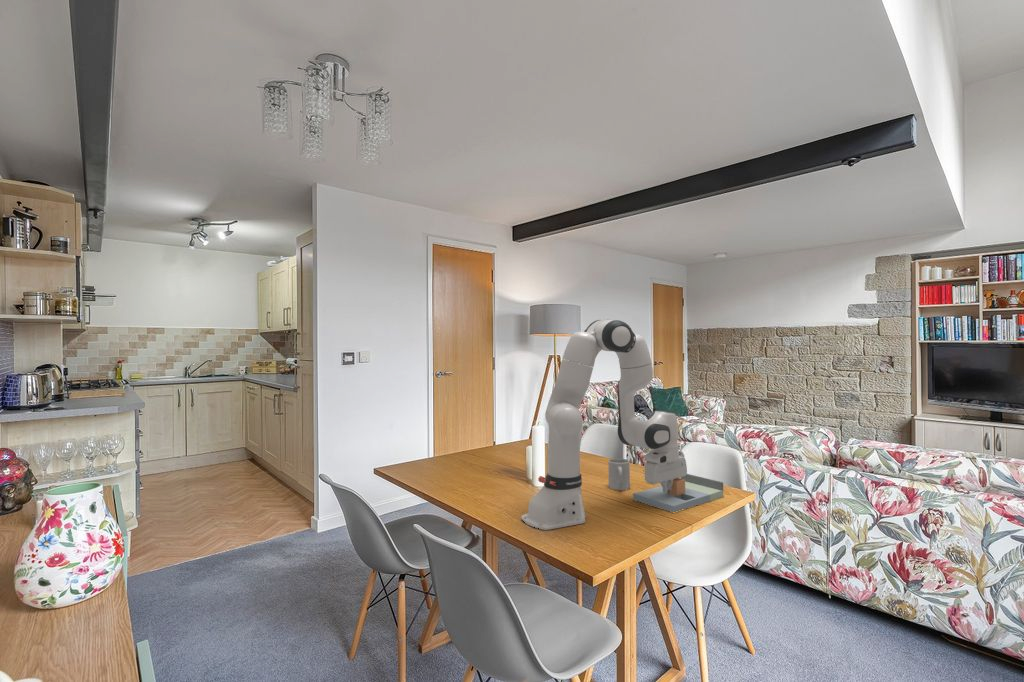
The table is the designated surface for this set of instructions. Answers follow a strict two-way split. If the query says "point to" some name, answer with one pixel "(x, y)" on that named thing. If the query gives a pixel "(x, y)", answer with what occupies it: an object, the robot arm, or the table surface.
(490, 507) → the table surface
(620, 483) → the mug
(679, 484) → the block
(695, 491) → the platform
